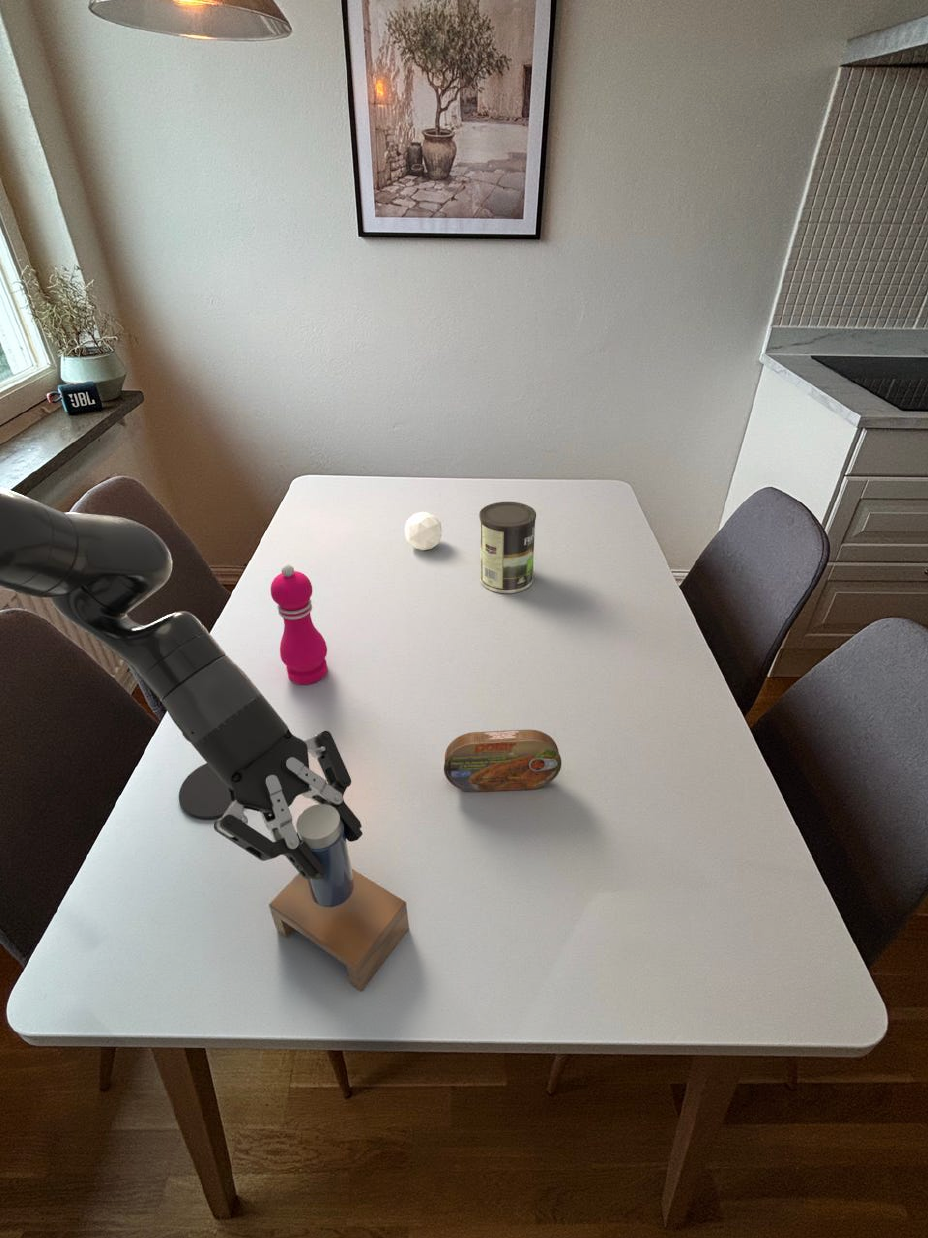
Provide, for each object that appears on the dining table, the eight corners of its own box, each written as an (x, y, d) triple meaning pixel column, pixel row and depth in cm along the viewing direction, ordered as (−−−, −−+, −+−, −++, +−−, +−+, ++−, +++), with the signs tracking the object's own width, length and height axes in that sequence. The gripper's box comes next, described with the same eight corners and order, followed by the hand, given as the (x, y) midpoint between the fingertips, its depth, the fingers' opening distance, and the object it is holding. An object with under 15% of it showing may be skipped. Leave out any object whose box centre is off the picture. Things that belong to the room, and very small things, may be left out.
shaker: (334, 915, 67) (319, 848, 61) (301, 893, 69) (284, 827, 63) (363, 882, 70) (351, 815, 64) (331, 861, 72) (317, 795, 66)
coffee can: (537, 568, 134) (540, 503, 126) (527, 597, 126) (530, 529, 118) (486, 562, 137) (486, 498, 129) (473, 590, 129) (473, 523, 120)
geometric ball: (415, 557, 145) (398, 523, 144) (449, 540, 144) (432, 505, 144) (414, 557, 137) (395, 521, 136) (449, 539, 137) (431, 503, 136)
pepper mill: (316, 652, 114) (296, 547, 102) (339, 673, 109) (321, 566, 98) (277, 671, 110) (252, 564, 98) (299, 693, 106) (275, 584, 94)
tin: (445, 793, 89) (442, 748, 84) (444, 775, 92) (442, 729, 87) (559, 789, 89) (564, 743, 84) (556, 770, 92) (560, 725, 87)
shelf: (361, 992, 68) (356, 966, 66) (276, 930, 74) (268, 904, 71) (409, 928, 74) (406, 902, 71) (327, 875, 79) (321, 849, 76)
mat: (214, 832, 85) (213, 829, 84) (163, 798, 89) (162, 795, 89) (273, 780, 91) (273, 777, 91) (223, 750, 96) (222, 747, 96)
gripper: (171, 755, 56) (302, 914, 57) (296, 662, 65) (405, 800, 67) (149, 773, 61) (269, 918, 63) (267, 685, 71) (368, 812, 72)
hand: (338, 856), depth 65 cm, fingers closed on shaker, 4 cm apart
